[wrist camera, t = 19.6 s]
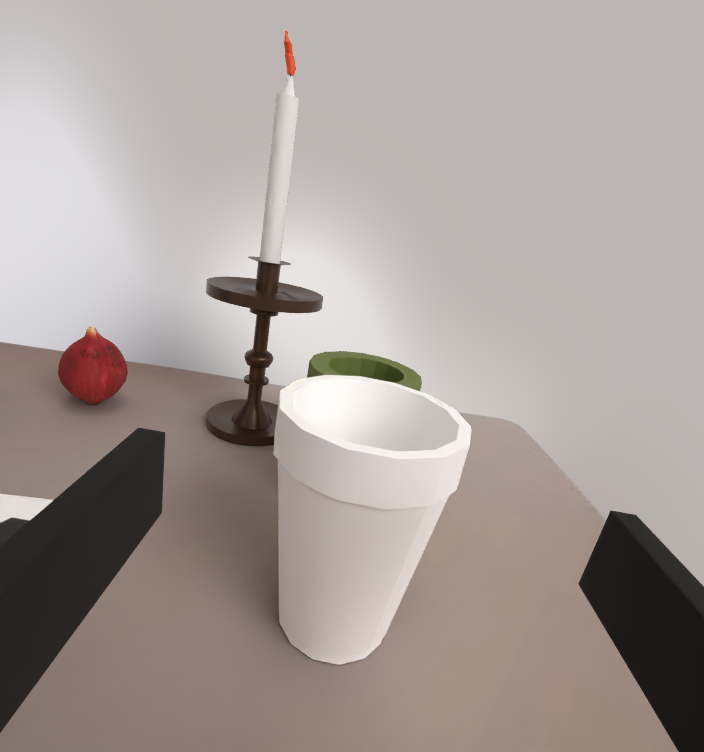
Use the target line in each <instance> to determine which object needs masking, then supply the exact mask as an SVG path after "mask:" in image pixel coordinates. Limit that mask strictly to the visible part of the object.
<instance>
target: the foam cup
mask: <svg viewBox="0 0 704 752" xmlns="http://www.w3.org/2000/svg"><path fill="white" fill-rule="evenodd" d="M470 437H471V426H470V425H469V424H468V423H467V422H466V421H465V420H464V419H463V417H462V416H461V415H460V414H459V413H458V412H457V411H456V410H455V409H453V408H452V407H450V406H448V405H446V404H445V403H442V402H441V401H439V400H437V399H435V398H434V397H432V396H430V395H428V394H426V393H423V392H420V391H417V390H414V389H411V388H408V387H405V386H402V385H400V384H397V383H393V382H388V381H382V380H377V379H372V378H367V377H361V376H343V375H322V376H316V377H310V378H303V379H298V380H296V381H295V382H293V383H292V384H290V385H288V386H287V387H285V388H284V389H282V390H280V396H279V403H278V411H277V419H276V426H275V435H274V456H275V457H276V458H277V459H278V548H279V623H280V625H281V627H282V629H283V630H284V632H285V634H286V636H287V638H288V640H289V642H290V643H291V644H292V645H293V646H295V647H296V648H297V649H299V650H300V651H301V652H303V653H304V654H306V655H307V656H308V657H310V658H311V659H313V660H318V661H323V662H328V663H333V664H338V665H341V664H345V663H349V662H353V661H357V660H361V659H365V658H366V657H367V656H368V655H369V654H370V653H371V652H372V651H373V650H374V649H376V648H377V647H378V646H379V645H380V644H381V642H382V638H383V637H384V636H385V635H386V632H387V630H388V628H389V626H390V624H391V621H392V619H393V617H394V615H395V613H396V611H397V608H398V606H399V604H400V602H401V600H402V597H403V595H404V593H405V591H406V589H407V586H408V584H409V582H410V580H411V578H412V576H413V573H414V571H415V569H416V567H417V565H418V562H419V560H420V558H421V556H422V554H423V552H424V549H425V547H426V545H427V543H428V541H429V538H430V536H431V534H432V532H433V530H434V528H435V525H436V523H437V521H438V519H439V517H440V514H441V512H442V510H443V508H444V506H445V503H446V501H447V499H448V497H449V495H450V494H451V493H453V492H454V491H456V490H457V487H458V483H459V480H460V477H461V473H462V470H463V466H464V463H465V459H466V456H467V452H468V449H469V446H470Z"/></svg>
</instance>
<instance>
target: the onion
mask: <svg viewBox="0 0 704 752" xmlns="http://www.w3.org/2000/svg"><path fill="white" fill-rule="evenodd" d="M58 375H59V378H60V381H61V383H62V384H63V385H64V387H65V388H66V389H67V390H68V391H69V392H70V393H71V394H73V395H74V396H75V397H77V398H79V399H81V400H83V401H85V402H86V403H88V404H91V405H95V404H98V403H100V402H101V401H103V400H105V399H107V398H109V397H111V396H113V395H114V394H115V393H116V392H118V391H119V389H120V388H121V387H122V385H123V384H124V382H125V381H126V377H127V365H126V362H125V359H124V357H123V355H122V354H121V352H120V350H119V349H118V348H117V347H116V346H115V345H114V344H113V343H112V342H110V341H109V340H107V339H105V338H103V337H102V336H101V335H100V334H99V333H98V332H97V330H96V329H95V328H94V327H89V328H88V329H87V332H86V334H85V337H83V338H82V339H80V340H78V341H76V342H75V343H73V344H72V345H71V346H69V348H68V349H67V350H66V351H65V352H64V353H63V355H62V357H61V359H60V362H59V370H58Z"/></svg>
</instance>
